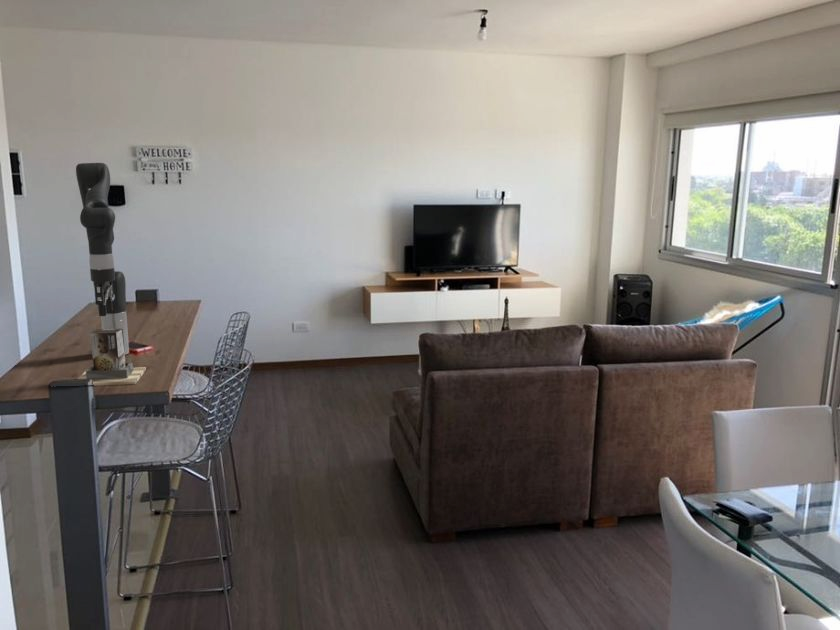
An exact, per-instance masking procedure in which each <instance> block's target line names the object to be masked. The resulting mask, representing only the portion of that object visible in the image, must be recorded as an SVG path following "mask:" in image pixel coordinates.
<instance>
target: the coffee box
mask: <svg viewBox="0 0 840 630" xmlns="http://www.w3.org/2000/svg"><path fill="white" fill-rule="evenodd" d="M89 335H90V343H91V352H92V363H93V364H92V365H93V366H94V370H120V369H125V368H126V363H127V362H126V355H125V349H124V337H123V329H102V328H97V329H95V330H92V331H91V332H89Z"/></svg>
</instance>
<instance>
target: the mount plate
mask: <svg viewBox="0 0 840 630" xmlns="http://www.w3.org/2000/svg"><path fill="white" fill-rule="evenodd" d="M146 370H147V367H146V366H144V367H143V366H142V367H141V366H140V367H134V363H133V362H126V368H125V369H120V370H94V366H93V364H92V365H91V366H90V367H89V368H88V369H85V371H84V372H83V373H81V375H80V376H79V377H77V379H92V380H93V385H94V386H95V387H97V386H98V387H100V386H119V385H120V386H121V385H122V386H124V385H136V384H137V383H138V382H139V380H140V379H141V377H142V376H143V375H144V373H145V372H146ZM94 386H93V387H94Z"/></svg>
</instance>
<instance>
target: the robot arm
mask: <svg viewBox="0 0 840 630" xmlns="http://www.w3.org/2000/svg"><path fill="white" fill-rule="evenodd" d="M110 174H111V172H110V169H109V166H108V165H107V164H106V163H104V162H85V163H77V165H76V167H75V175H76V180H77V186H78V189H79V194H80V197H81V203H82V209H81V212H80V214H79V215H80V216H79V220H80V224H81V226H83V227H84V228H85V230H86V236H87V241H88V252H89V257H88V258H89V262H88V263H89V274H90V281H91V282H93V289H94V298H95V299H94V300H95V301H94V303H95V305H97V306H98V307H97V308H98V316H99V317H100V319H101V320H100V322H101V329H123V337H124V349H125V356H126V355H127V354H129V353H130V347H129V333H128V332H129V331H128V330H129V329H128V319H127V318H128V317H127V298H126V297H127V295H126V277H125V274H124V273H123V272H122V271H120V270H119V271H117V270H116V271H115V262H114V256H113V244H114V241H115V234H114V226H115V222H116V214H115V212H114V210H113V209H112V208H111V207H109V199H108V197H109V192H110V186H111V175H110Z"/></svg>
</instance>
